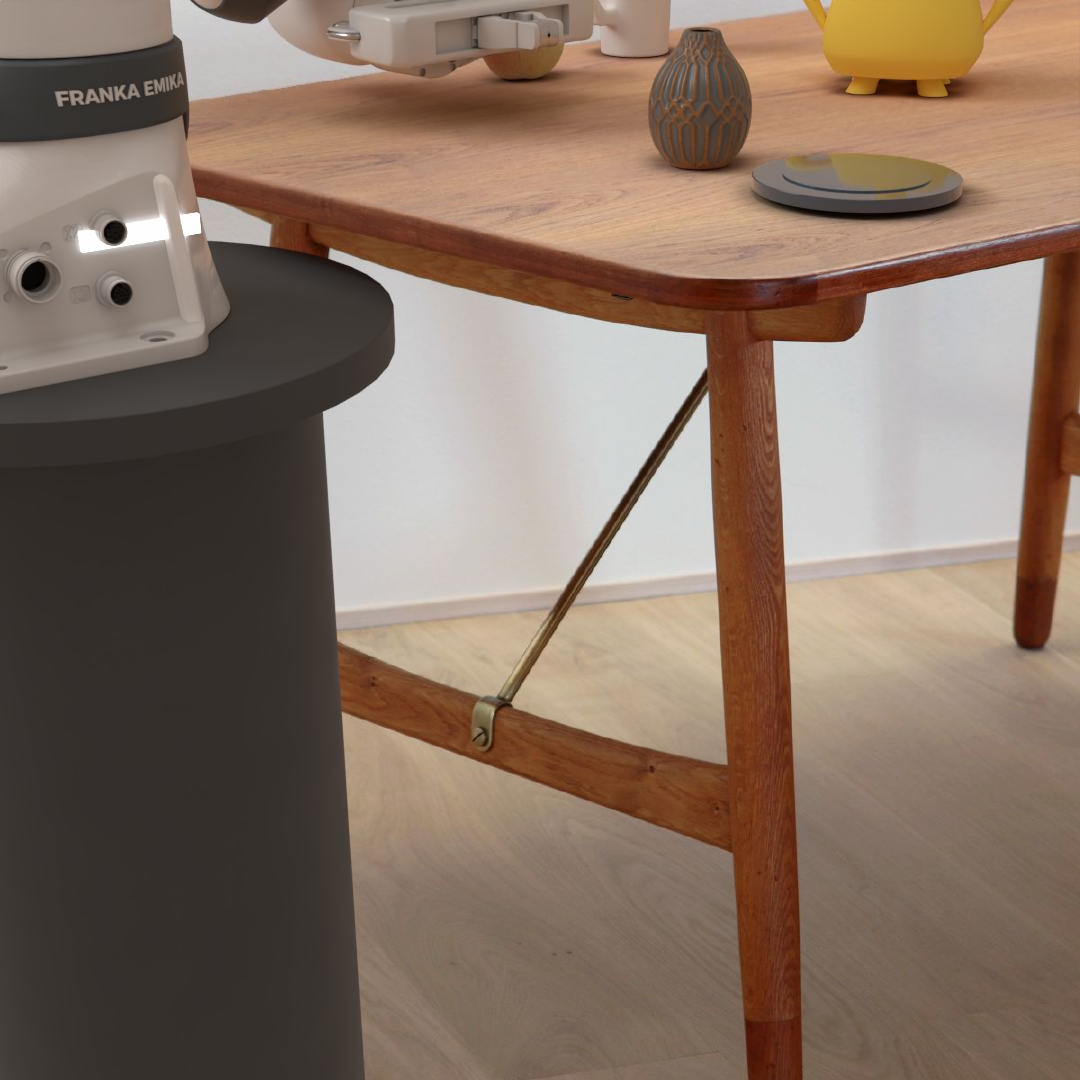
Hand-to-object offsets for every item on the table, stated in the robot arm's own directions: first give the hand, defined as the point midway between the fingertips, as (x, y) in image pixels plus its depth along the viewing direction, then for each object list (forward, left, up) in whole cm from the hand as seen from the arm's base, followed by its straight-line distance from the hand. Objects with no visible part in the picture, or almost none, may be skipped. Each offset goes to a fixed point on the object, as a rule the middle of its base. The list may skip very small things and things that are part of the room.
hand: (549, 35), depth 123 cm
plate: (0, -27, -7) cm, 28 cm away
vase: (0, -14, -7) cm, 16 cm away
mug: (+30, +21, -7) cm, 37 cm away
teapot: (+35, -6, -7) cm, 36 cm away
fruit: (+15, +19, -7) cm, 25 cm away
